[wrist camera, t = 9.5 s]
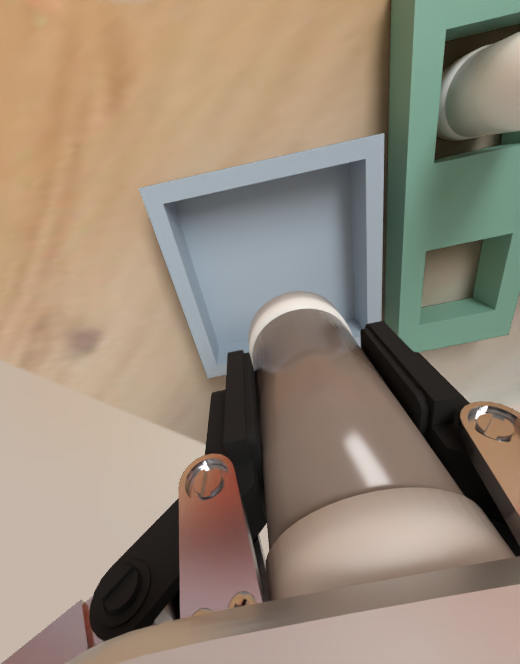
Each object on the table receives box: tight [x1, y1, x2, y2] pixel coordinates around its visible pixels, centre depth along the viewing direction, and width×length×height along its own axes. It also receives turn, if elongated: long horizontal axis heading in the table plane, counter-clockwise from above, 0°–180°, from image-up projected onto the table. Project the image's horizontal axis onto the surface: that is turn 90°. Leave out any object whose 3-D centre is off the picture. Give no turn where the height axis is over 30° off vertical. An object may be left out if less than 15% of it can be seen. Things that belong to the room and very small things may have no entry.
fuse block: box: [384, 0, 520, 352], centre depth 19 cm, size 22×9×2 cm, turn 11°
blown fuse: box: [248, 291, 516, 601], centre depth 9 cm, size 4×4×10 cm
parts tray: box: [139, 133, 384, 378], centre depth 20 cm, size 13×13×4 cm
